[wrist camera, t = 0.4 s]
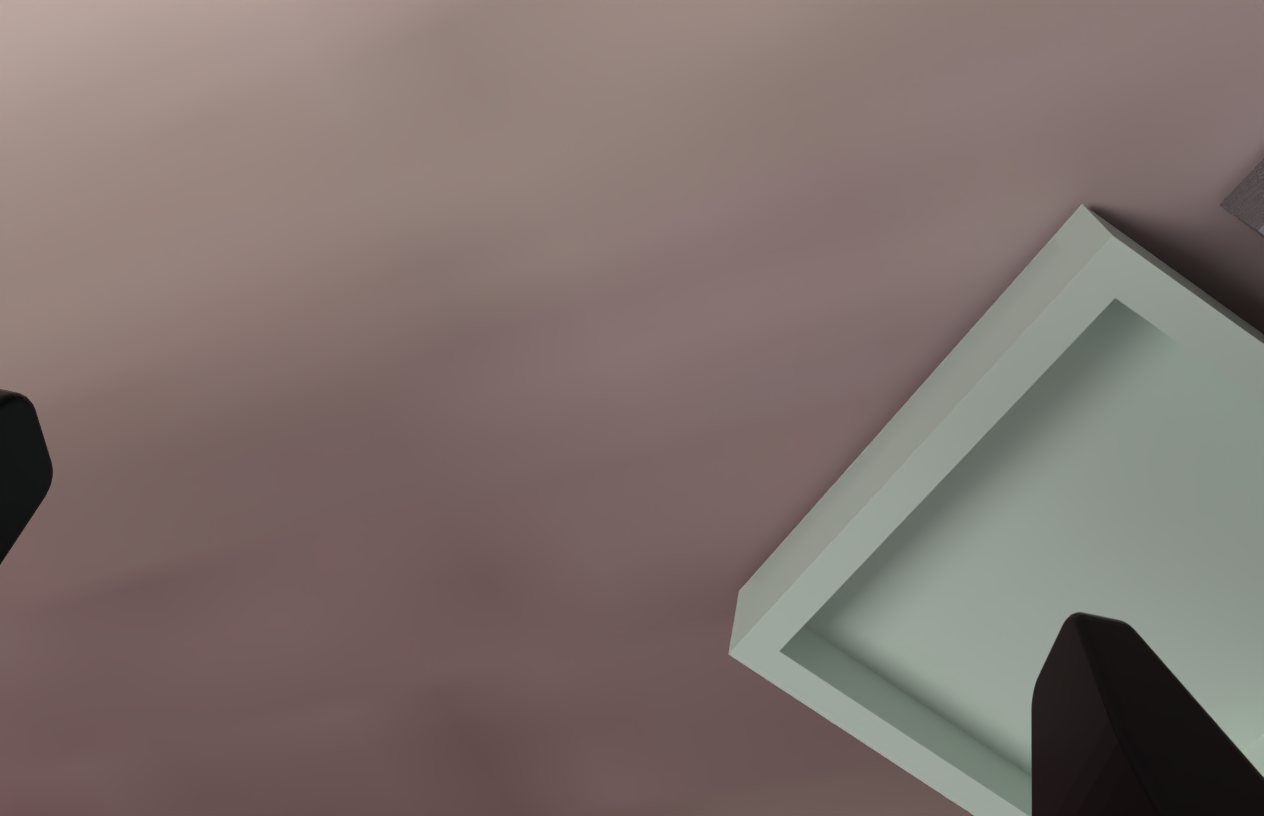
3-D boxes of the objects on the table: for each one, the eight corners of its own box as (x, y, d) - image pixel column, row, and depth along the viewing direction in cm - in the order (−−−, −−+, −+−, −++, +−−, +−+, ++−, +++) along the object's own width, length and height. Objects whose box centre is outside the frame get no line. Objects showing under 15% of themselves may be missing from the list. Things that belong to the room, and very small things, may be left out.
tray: (1114, 840, 26) (1141, 924, 23) (739, 591, 25) (728, 653, 22) (1536, 530, 20) (1621, 601, 18) (1082, 203, 20) (1113, 235, 17)
